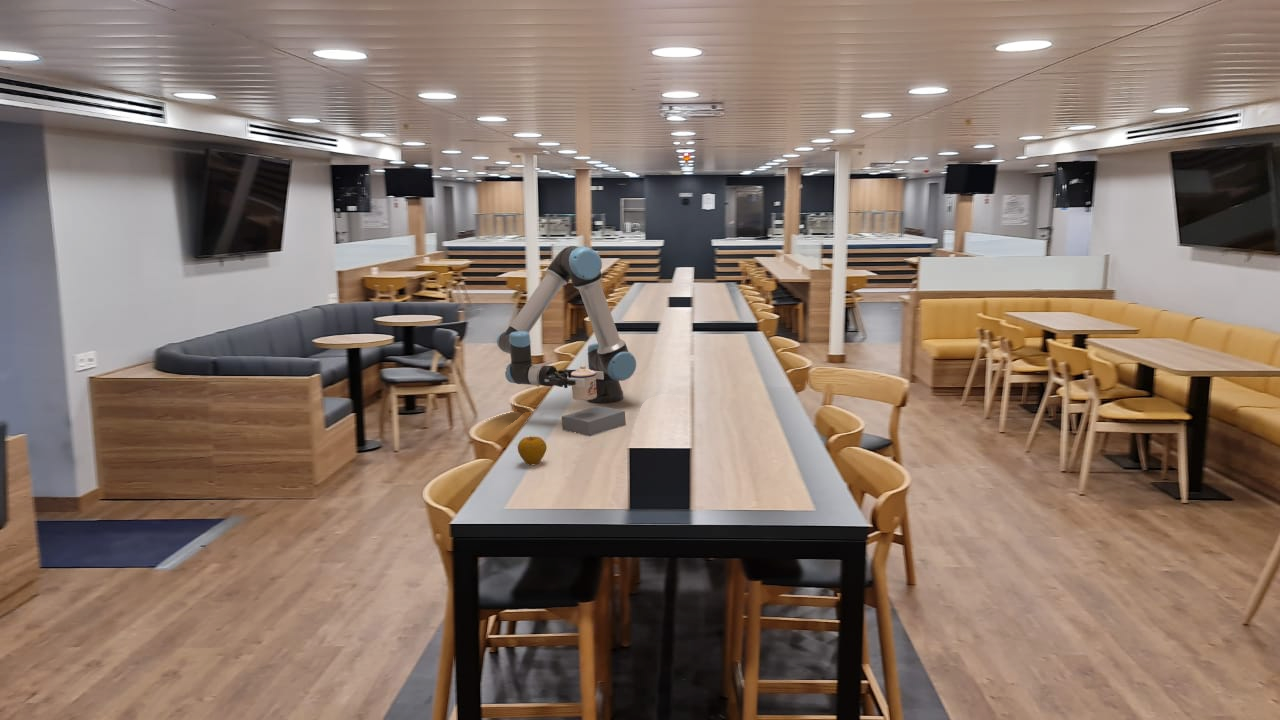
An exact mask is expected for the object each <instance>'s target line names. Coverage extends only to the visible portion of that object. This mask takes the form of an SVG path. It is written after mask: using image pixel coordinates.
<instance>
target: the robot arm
mask: <svg viewBox="0 0 1280 720" xmlns="http://www.w3.org/2000/svg"><path fill="white" fill-rule="evenodd" d="M602 263H603V262H602V259H601V256H600V255H599V253H598V251H595V250H594V249H592V248H590V247H587V246H575V245H570V246H566V247H564V248H563V249H561V250H560V251H559V252H558V253H557V255H556V256H555V257H554V259H552V262H551V263H550V264H549V266H548V267H547V269H545V270H546V271H545V272H546V274H545V276H544V277H543V279H542V280H541V281H540V283H539V284H538V286H537V287H536V288H535V290H534V291H533V292H532V294H531V296H530V297H529V298H528V300H527V301H526V303H524V305H523V306H522V308H521V309H520V311H519V313H518V314H517V316H516V317H515V318H514V319H513V321H512V323H511V324H510V325H509V326H508V327H507V329H506V331H503V332H500V333H499V335H498V336H497V338H496V345H497V347H498V348H499V349H500V350H501V351H502V352H505V353H506V354H509V355H510V360H511V361H510V363H509V364H507V366H506V368H505V370H506V371H504V373H505V374H504V375H505V378H506V380H507V382H509V383H511V384H517V385H528V386H529V385H530V386H531V385H532V386H536V387H537V388H539V387H540V386H541V387H542V386H543V387H553V386H556V387H559V388H563V387H564V389H568V386H569V387H572V386H577V387H585V379H578V378H571V373H572V372H574V371H576V370H577V369H564V370H562V369H561V370H557V368H556V367H555V366H554V365H548V364H547V365H546V364H545V365H544V364H532V363H533V362H532V350H531V349H532V348H531V342H532V341H531V337H530V332H531V331H532V329H533V328H534V327H535V325H536V324H537V322H538V321H539V320H540V318H541V317H542V315H543V314H544V312H546V309H547V308H548V307H549V305H550V304H551V303H552V301H553V300H554V298H555V297H556V295H558V293H559V291H560V290H561V289H562V287H563V286H566V285H567V284H568V283H569V282H570V281H571V283H572V286H573V287H574V288H575V289H577V290H578V292H579V295H580V296H581V300H582V302H583V305H584V308H585V311H586V313H587V316H588V319H589V322H590V325H591V327H592V331H593V333H594V336H595V339H596V342H597V343H591V344H589V345H588V346H587V359H588V361H587V362H588V367H587V368H588V369H590V370H593V371H595V372H596V390H597V397H596V398H594V399H591V400H588V401H587V402H589V401H591V402H590V403H594V402H602V403H603V402H608V403H614V401H615V402H619V401H621V400H623V399H624V391H623V390H622V386H621V384H620V381H621V382H622V381H627V380H628V379H630V378H631V377H632V376H633V374H634V373H635V372H636V368H637V360H636V357H635V356H634V355H633V354H632V353H631V352H629V350H628V349H629V348H628V347H627V344H626V342H625V340H623V339H621V338H620V335H619V333H618V330H617V326H616V324H615V321H614V317H613V315H612V312H611V309H610V307H609V303H608V300H607V298H606V295H605V292H604V290H603V286H602V284H601V282H602V279H603V275H602V274H603V273H602V272H601V270H602V267H603V264H602ZM618 400H619V401H618ZM602 403H601V404H602ZM603 404H604V403H603Z"/></svg>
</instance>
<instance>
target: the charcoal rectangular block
mask: <svg viewBox="0 0 1280 720" xmlns="http://www.w3.org/2000/svg"><path fill="white" fill-rule="evenodd" d="M561 425H562V431H565V430H566V431H565V432H569V431H571V433H574V432H576V433H575V434H578V433H580V434H579V435H583V436H587V435H588V437H591V436H593V435H597V434H600V433H603V432H606V431H609V430H612V429H616V428H618V427H622V426H625V425H626V410H623V409H616V408H612V407H605V406H600V405H596V406H593V407H589V408H586V409H582V410H579V411H576V412H572V413H569V414H565V415H563V416H561Z"/></svg>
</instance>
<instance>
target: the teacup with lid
mask: <svg viewBox="0 0 1280 720" xmlns="http://www.w3.org/2000/svg"><path fill="white" fill-rule="evenodd" d="M588 368H589V367H586V365H585V364H581V365H580V366H579V368H576V369H575V370H576V371H574V372H572V373H571V378H578V379H585V387H577V386H571V392H572V399H573V400H576V401H587V400H591V399H594V398H596V397H597V390H596V372H595V371H593V370H590V369H588Z"/></svg>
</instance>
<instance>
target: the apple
mask: <svg viewBox="0 0 1280 720" xmlns="http://www.w3.org/2000/svg"><path fill="white" fill-rule="evenodd" d="M547 448H548V447H547V444H546V442H545V440H544V439H543V438H541V437H539V436H531V435H530V436H526V437H523V438H521V439H520V440H519V442H518V444H517V452H518V454H519V456H520V458H521V459H522V460H523V461H524V463H526V464H527V465H528V464H529V466H533V465H532V464H536V465H538V464H540V463H541V461H542V459H543V458H544V456H545V453H546V452H547ZM537 463H538V464H537Z"/></svg>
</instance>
